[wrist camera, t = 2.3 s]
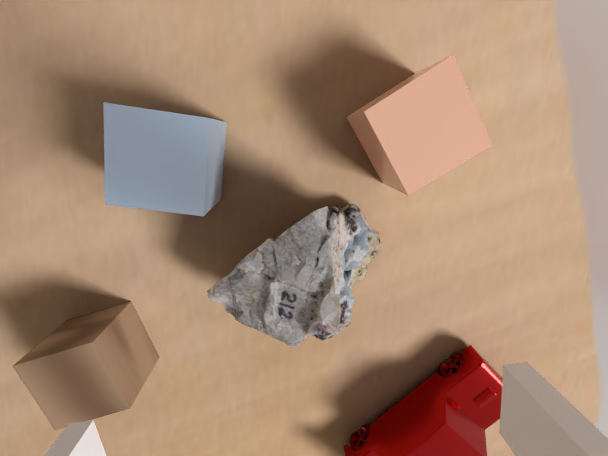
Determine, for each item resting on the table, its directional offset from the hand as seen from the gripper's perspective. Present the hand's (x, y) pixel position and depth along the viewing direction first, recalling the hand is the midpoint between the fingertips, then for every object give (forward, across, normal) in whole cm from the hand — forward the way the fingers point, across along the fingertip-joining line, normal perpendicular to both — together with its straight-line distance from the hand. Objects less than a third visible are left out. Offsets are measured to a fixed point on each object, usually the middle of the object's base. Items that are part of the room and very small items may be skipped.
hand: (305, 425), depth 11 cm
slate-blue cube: (+14, -6, +8) cm, 17 cm away
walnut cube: (+14, -14, -4) cm, 20 cm away
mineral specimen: (+14, 0, 0) cm, 14 cm away
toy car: (+14, +9, -15) cm, 22 cm away
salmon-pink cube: (+14, +8, +8) cm, 18 cm away
